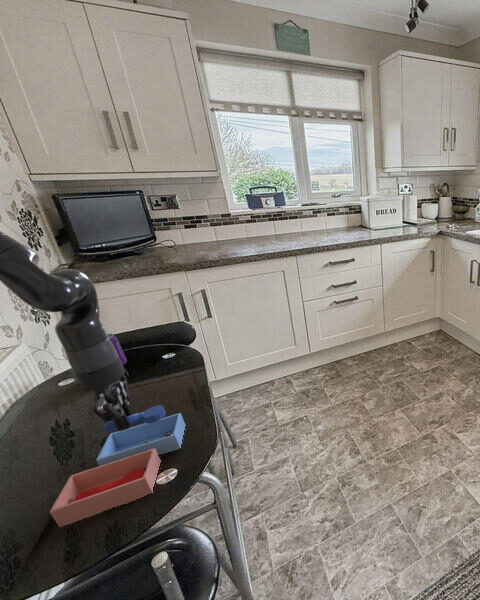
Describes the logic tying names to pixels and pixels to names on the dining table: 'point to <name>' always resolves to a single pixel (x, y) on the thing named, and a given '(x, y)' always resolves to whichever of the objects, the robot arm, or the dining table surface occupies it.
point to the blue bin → (144, 439)
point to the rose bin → (73, 510)
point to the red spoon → (113, 484)
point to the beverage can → (117, 348)
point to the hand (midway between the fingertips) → (126, 425)
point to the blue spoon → (140, 417)
